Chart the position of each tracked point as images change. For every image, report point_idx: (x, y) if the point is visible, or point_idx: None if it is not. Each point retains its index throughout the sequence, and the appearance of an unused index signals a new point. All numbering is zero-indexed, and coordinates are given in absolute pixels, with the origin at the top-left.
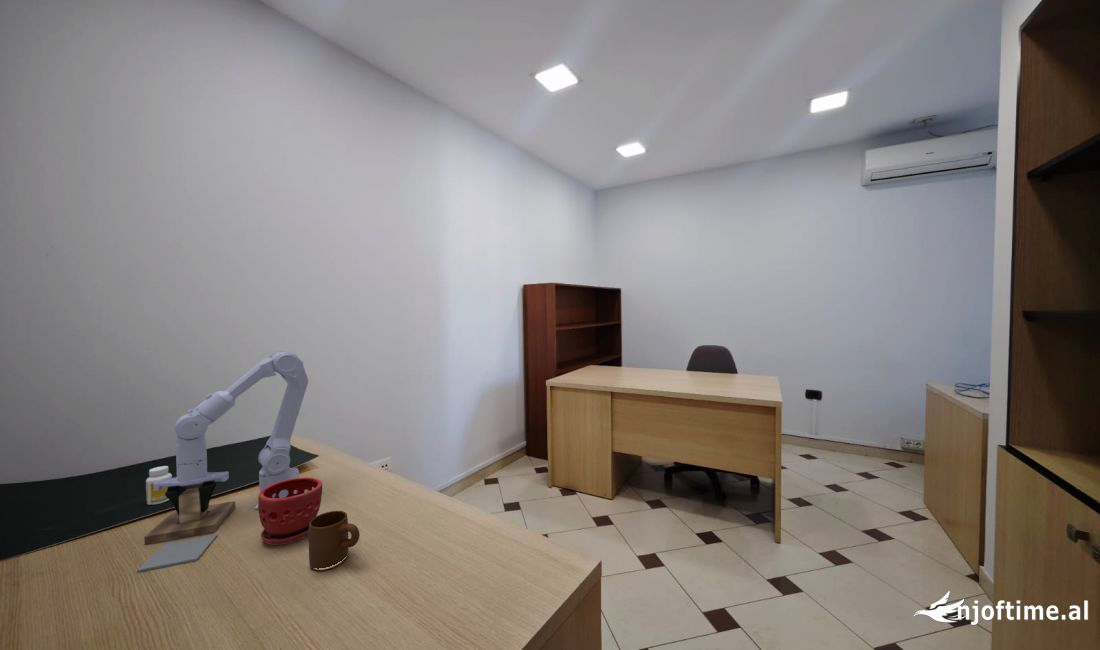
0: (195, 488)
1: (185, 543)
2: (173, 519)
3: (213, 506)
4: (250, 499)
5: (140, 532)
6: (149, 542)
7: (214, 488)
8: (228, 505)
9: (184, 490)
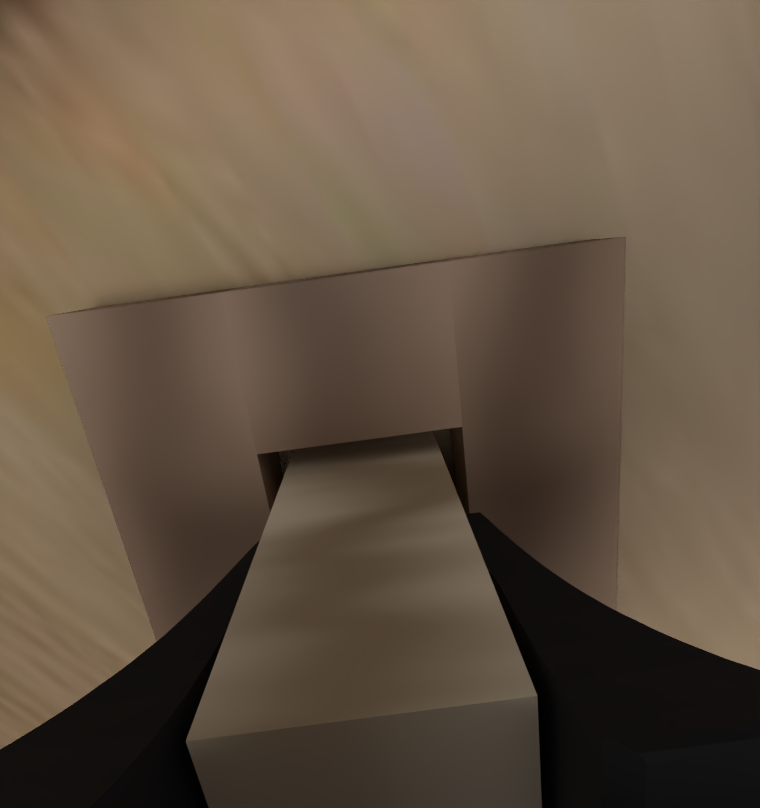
0: (354, 739)
1: None
2: (204, 526)
3: (439, 324)
4: (677, 23)
5: (12, 510)
6: None
7: (657, 636)
8: (593, 344)
9: (184, 792)
